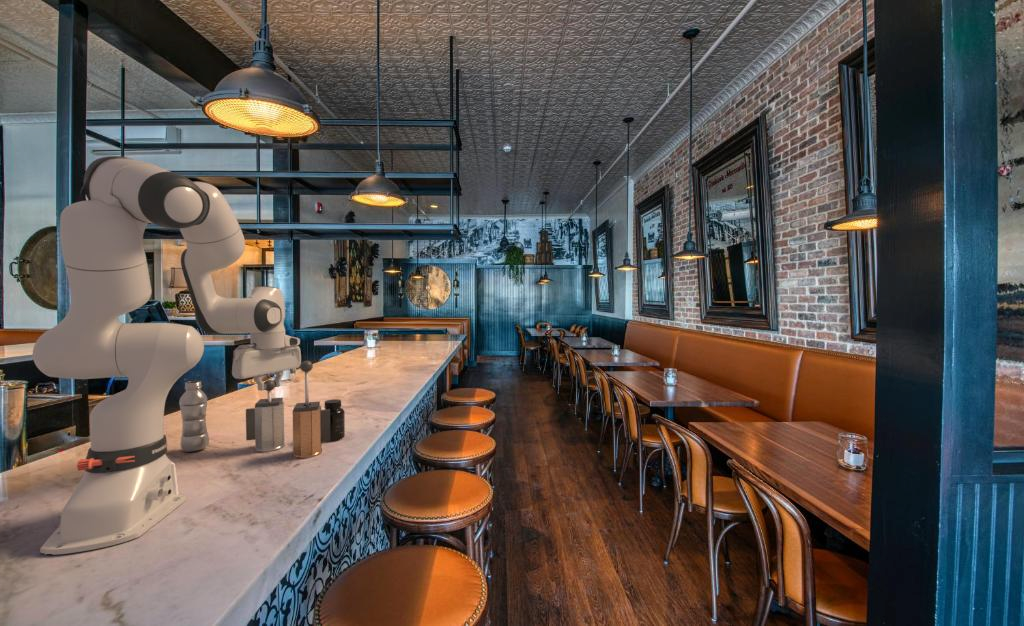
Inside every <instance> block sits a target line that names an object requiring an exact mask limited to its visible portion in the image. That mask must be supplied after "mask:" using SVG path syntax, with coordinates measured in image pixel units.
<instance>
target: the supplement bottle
mask: <svg viewBox="0 0 1024 626" xmlns="http://www.w3.org/2000/svg"><path fill="white" fill-rule="evenodd" d="M323 407H324V409H323V410H328V409H330V441H328V442H327V443H330V442H332V441H333V442H338V441H341V440H343V439H344V438H345V433H346V431H345V428H346V427H345V426H346V423H345V419H346V418H345V409H344V408H343V407H342V400H341V399H339V398H337V399H336V398H335V399H334V398H333V399H328V400H326V401H324V406H323ZM342 438H343V439H342ZM340 439H341V440H340Z"/></svg>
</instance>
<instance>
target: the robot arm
mask: <svg viewBox="0 0 1024 626" xmlns="http://www.w3.org/2000/svg"><path fill="white" fill-rule="evenodd" d="M80 196H81V198H82V200H81V201H77V202H76V201H75V202H74V203H71V204H69V205H67V206H65V208H63V210H61V213H60V216H59V217H60V219H59V236H60V237H59V239H60V248H61V253H62V258H63V263H64V268H65V270H66V276H67V281H68V286H69V293H70V305H69V309H68V311H67V314H66V315H65V316H64V317H63V319H62V320H61V321H60V322H59V323H57V324H56V325H55V326H53V327H52V328H49V329H48V330H46V331H45V332H43V334H41V335H40V336H39V338H38V339H37V340H36V342H35V344H34V346H33V349H32V360H33V362H34V365H35V366H36V368H37V369H38V370H39V371H40V372H41V373H42V374H44V375H45V376H47V377H50V378H61V379H73V380H74V379H75V380H90V379H91V380H92V379H106V378H121V377H122V378H123V377H125V378H128V382H127V386H126V387H125V389H123V390H121V391H120V392H117V393H114V394H112V395H111V396H108V397H106V398H104V399H102V400H100V401H99V402H98V403H97V404H96V405H95V406H94V407H93V408H92V410H91V411H90V414H89V438H90V448H88V449H87V454H86V457H85V458H82V459H79V460H78V461H77V463H76V470H77V471H85V472H84V474H83V476H82V478H81V479H80V480H79V482H78V484H77V485H76V487H75V488H74V490H73V491H72V494H71V495H70V497H69V498H68V500H67V502H66V503H65V505H64V507H63V508H62V510H61V515H60V523H59V526H58V527H57V528H56V529H55V531H53V533H52V534H51V535H50V536H49V537H48V538H47V539H46V541H45V542H44V543H43V544H42V545H41V547H40V548H39V550H40V551H39V553H40V552H41V553H45V554H44V555H47V554H52V555H54V556H57V555H65V554H74V553H80V552H86V551H92V550H98V549H102V548H107V547H111V546H115V545H119V544H122V543H125V542H129V541H132V540H134V539H137V538H139V537H141V536H142V535H144V534H145V533H146V532H147V531H149V530H150V529H151V528H153V527H154V526H155V525H157V524H158V523H159V522H160V521H161V520H163V519H164V518H165V517H167V516H168V515H169V514H170V513H172V512H173V511H174V510H176V509H177V508H178V507H180V505H182V504H183V503H185V502H186V501H187V495H186V494H184V493H179V487H178V479H177V478H178V476H177V469H176V464H175V462H173V461H172V460H171V459H170V458H169V457H168V456H167V454H166V453H167V452H168V441H167V435H165V433H164V417H165V406H166V400H167V397H168V395H169V393H170V390H171V389H172V388H173V386H174V384H175V383H177V381H178V380H179V379H180V378H181V377H182V376H183V375H184V374H186V373H187V372H189V371H190V370H191V369H193V368H194V367H195V366H197V365H198V363H199V362H200V360H201V358H202V357H203V354H204V351H205V343H204V338H203V337H202V335H201V334H200V332H199V331H198V330H197V329H196V328H195V327H194V326H192V325H186V324H181V323H173V322H171V323H170V322H139V323H137V322H135V323H133V322H132V323H130V322H129V323H127V322H121V319H120V318H119V317H120V316H123V315H125V314H129V313H131V312H134V311H135V310H137V309H140V308H142V306H144V305H146V304H147V303H148V301H149V300H150V299H151V296H152V294H153V293H152V292H153V291H152V284H151V279H150V278H151V277H150V273H149V267H148V261H147V255H146V251H145V247H144V234H145V230H146V228H147V226H148V225H149V224H153V225H155V226H158V227H160V228H165V229H176V230H178V229H179V231H180V233H181V235H182V237H183V239H184V241H185V244H186V248H185V249H184V250H183V251H182V253H181V254H180V266H181V271H182V273H183V277H184V280H185V283H186V287H187V290H188V293H189V296H190V299H191V302H192V304H193V309H194V310H193V311H194V318H195V322H196V325H197V326H198V327H199V329H201V330H202V331H203V332H204V333H205V334H207V335H209V336H210V335H211V336H216V335H217V336H218V335H229V334H236V335H237V334H242V335H243V334H249V335H250V336H249V337H250V343H246V344H240V345H238V347H235V349H234V350H233V358H232V366H231V368H232V369H231V375H232V377H233V378H234V379H236V380H237V379H239V380H243V379H249V378H252V379H253V380H254V382H255V383H256V385H257V391H266V389H267V387H266V386H267V384H264V382H263V379H264V376H265V375H269V374H273V375H275V377H274V378H273V381H274V382H275V388H278V387H280V386H281V381H282V378H283V376H284V371H289V370H293V369H294V370H295V369H300V365H301V363H302V354H301V348H300V346H299V345H300V344H301V339H300V338H299V337H295V336H290V335H288V334H286V327H285V325H284V324H285V318H286V307H285V299H284V298H285V297H284V295H283V291H282V289H280V288H278V287H275V286H269V285H268V286H267V285H259V286H254V287H253V288H252V290H251V293H250V296H248V297H224V296H221V295H218V294H217V291H216V289H215V284H214V281H213V278H212V274H211V273H213V272H216V271H219V270H222V269H225V268H228V267H230V266H231V265H233V264H234V263H235V262H237V261H238V260H239V259H240V258H241V257H242V255H243V254H244V253H245V248H246V241H245V240H246V239H245V237H244V234H243V231H242V229H241V226H240V224H239V221H238V219H237V216H236V215H235V213H234V211H233V210H232V209H233V208H232V207H231V206H230V204H229V203H228V201H227V200H226V197H224V195H223V194H222V192H221V191H220V190H219V189H218V187H216V186H214V185H213V184H211V183H208V182H204V181H192V180H191V179H189V178H187V177H186V176H184V175H182V174H179V173H177V172H172V171H170V170H168V169H166V168H163V167H160V166H159V165H156V164H154V163H150V162H146V161H142V160H138V159H133V158H131V157H127V156H118V155H116V156H115V155H111V156H110V155H109V156H102V157H99V158H97V159H95V160H93V161H92V162H91V163H90V164H89V165H88V166H87V168H86V169H85V173H84V177H83V185H82V187H81V189H80ZM86 198H87V199H88V200H87V199H86ZM41 553H40V554H41ZM52 555H51V556H52Z"/></svg>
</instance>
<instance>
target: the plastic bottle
mask: <svg viewBox="0 0 1024 626" xmlns="http://www.w3.org/2000/svg"><path fill="white" fill-rule="evenodd" d="M184 384H185V385H184V390H185V392H184V393H183V394H182V395H181V396H180V398H179V402H178V404H179V408H180V409H179V410H180V413H181V422H182V427H181V429H182V431H181V437H180V448H181V450H182V451H183V452H186V453H189V452H190V453H191V452H197V451H201V450H205V449H206V448H208V445H209V442H210V436H209V432H208V429H207V427H208V426H207V419H206V417H207V407H208V397H207V394H205V392H204V391H203V390H202V387H203V386H202V381H201V380H192V381H191V380H190V381H185V382H184Z"/></svg>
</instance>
